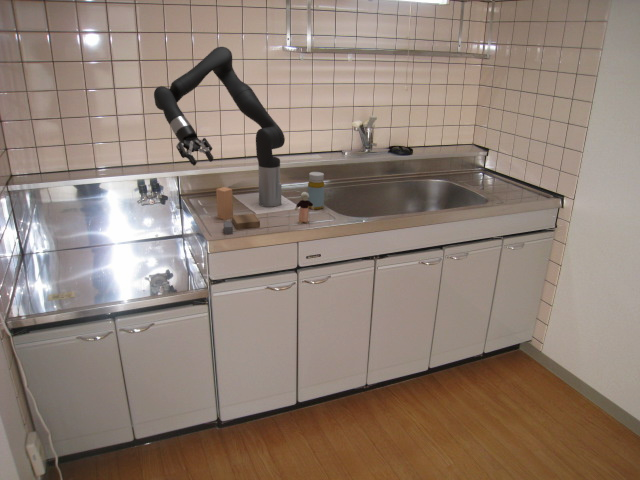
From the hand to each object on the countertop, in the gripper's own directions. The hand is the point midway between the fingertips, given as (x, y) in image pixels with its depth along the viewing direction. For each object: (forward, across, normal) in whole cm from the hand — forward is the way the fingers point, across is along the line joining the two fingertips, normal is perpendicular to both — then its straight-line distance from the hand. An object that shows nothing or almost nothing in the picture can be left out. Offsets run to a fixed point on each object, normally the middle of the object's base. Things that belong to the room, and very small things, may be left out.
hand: (203, 162), depth 209 cm
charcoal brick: (+32, +9, +1) cm, 33 cm away
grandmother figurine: (+42, -18, +11) cm, 47 cm away
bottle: (+36, -36, +5) cm, 51 cm away
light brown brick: (+23, 0, -7) cm, 24 cm away
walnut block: (+31, 0, +1) cm, 31 cm away
